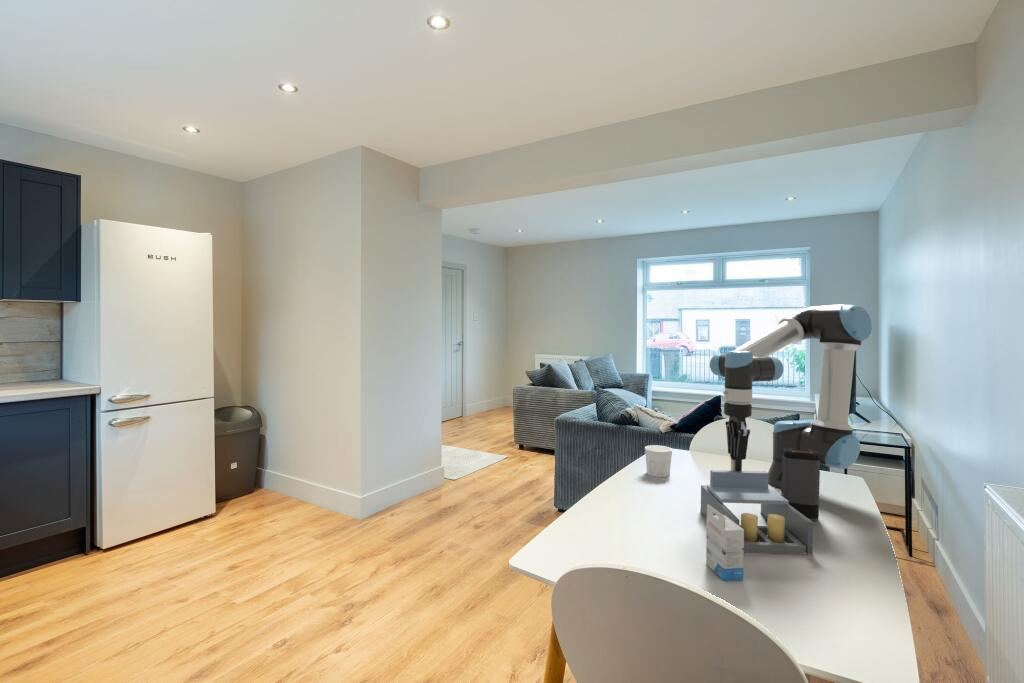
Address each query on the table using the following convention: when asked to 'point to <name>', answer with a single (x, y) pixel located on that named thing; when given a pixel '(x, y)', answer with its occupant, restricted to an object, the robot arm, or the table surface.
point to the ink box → (724, 546)
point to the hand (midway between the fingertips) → (736, 480)
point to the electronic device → (801, 481)
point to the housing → (795, 527)
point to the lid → (743, 487)
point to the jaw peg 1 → (749, 527)
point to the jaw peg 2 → (776, 528)
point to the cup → (658, 460)
